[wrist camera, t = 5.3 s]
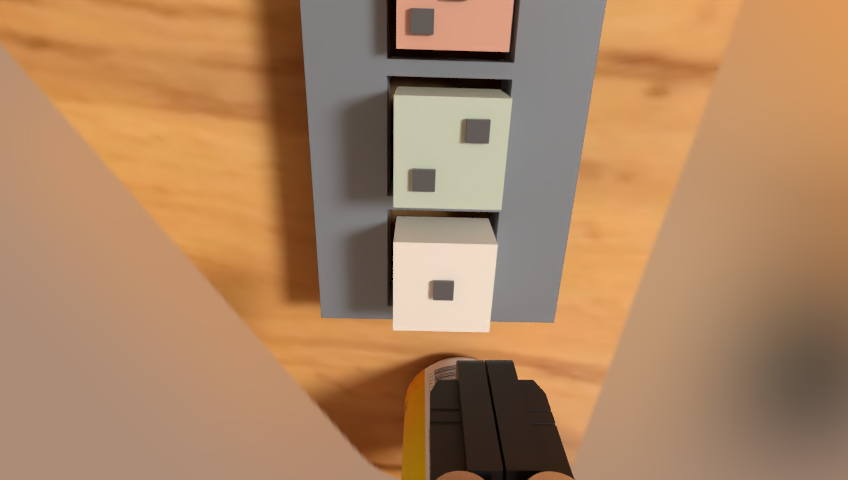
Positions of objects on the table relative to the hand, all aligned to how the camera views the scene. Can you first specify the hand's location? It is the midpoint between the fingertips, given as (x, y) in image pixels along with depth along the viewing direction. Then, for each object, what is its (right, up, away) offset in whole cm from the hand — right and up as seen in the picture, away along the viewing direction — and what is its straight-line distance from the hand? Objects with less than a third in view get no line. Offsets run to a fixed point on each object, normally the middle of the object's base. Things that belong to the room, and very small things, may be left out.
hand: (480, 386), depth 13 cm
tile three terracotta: (0, +14, +6) cm, 15 cm away
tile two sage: (-1, +8, +7) cm, 10 cm away
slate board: (-1, +9, +9) cm, 12 cm away
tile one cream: (-1, +3, +9) cm, 9 cm away
